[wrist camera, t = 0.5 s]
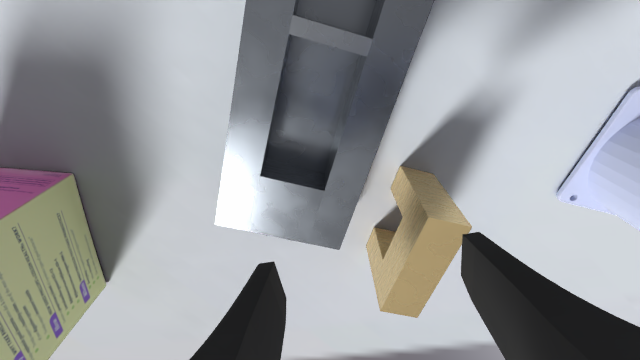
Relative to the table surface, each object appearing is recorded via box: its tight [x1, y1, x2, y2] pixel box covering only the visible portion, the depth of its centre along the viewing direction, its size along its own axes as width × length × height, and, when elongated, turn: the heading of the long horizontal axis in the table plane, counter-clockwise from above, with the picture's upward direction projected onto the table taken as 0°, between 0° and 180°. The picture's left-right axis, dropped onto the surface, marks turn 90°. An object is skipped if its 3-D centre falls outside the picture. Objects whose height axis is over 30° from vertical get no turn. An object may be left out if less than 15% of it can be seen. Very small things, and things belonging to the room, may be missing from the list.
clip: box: [366, 166, 472, 318], centre depth 20 cm, size 2×7×6 cm, turn 165°
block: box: [215, 0, 434, 250], centre depth 16 cm, size 8×24×3 cm, turn 165°
